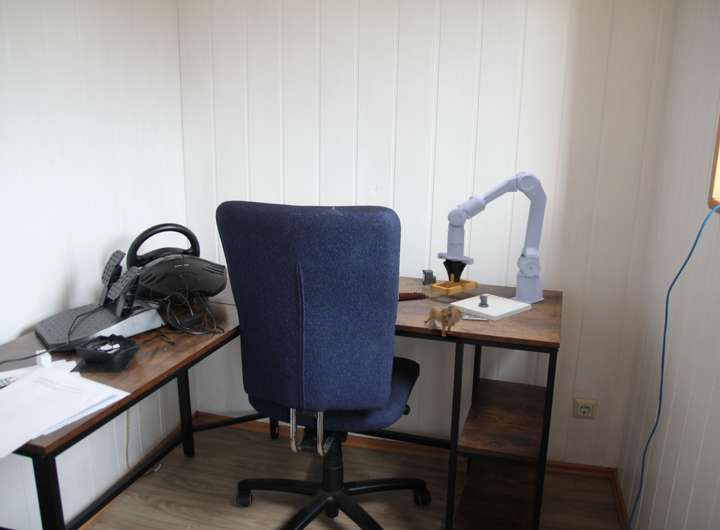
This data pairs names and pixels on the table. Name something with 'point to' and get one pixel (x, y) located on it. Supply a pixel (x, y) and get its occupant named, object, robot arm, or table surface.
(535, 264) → the robot arm
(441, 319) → the lion figurine
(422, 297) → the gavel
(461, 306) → the board
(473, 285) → the orange link
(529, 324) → the table surface
